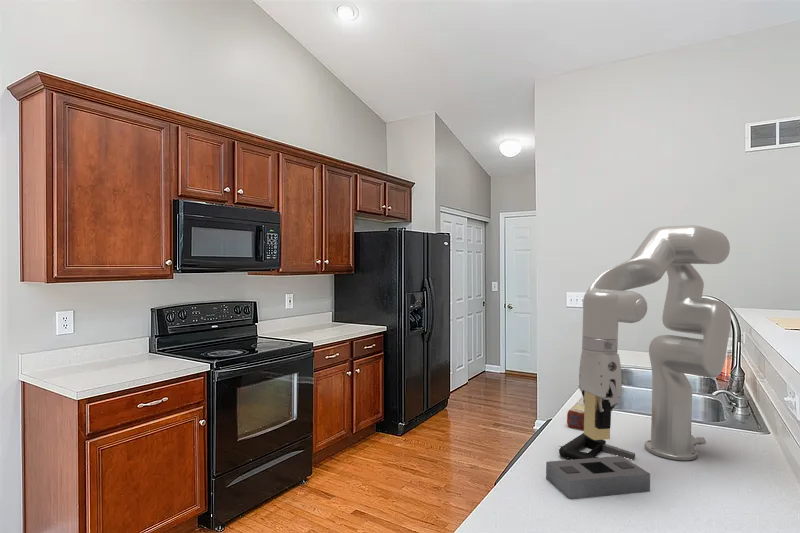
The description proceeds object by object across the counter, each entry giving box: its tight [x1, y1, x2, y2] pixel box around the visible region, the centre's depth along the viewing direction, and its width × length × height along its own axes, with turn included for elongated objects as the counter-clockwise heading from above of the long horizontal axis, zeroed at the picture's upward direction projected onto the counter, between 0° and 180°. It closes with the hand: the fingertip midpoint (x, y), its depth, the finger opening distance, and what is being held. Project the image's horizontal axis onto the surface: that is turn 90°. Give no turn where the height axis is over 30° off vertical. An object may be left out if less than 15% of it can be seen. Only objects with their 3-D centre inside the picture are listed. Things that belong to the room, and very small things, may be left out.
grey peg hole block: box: [545, 455, 651, 500], centre depth 111 cm, size 20×10×4 cm, turn 102°
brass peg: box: [583, 391, 611, 441], centre depth 111 cm, size 4×4×10 cm
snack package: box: [566, 396, 585, 431], centre depth 157 cm, size 21×7×7 cm, turn 145°
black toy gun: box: [557, 432, 636, 461], centre depth 130 cm, size 3×20×16 cm
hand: (597, 424), depth 111 cm, fingers closed on brass peg, 4 cm apart
